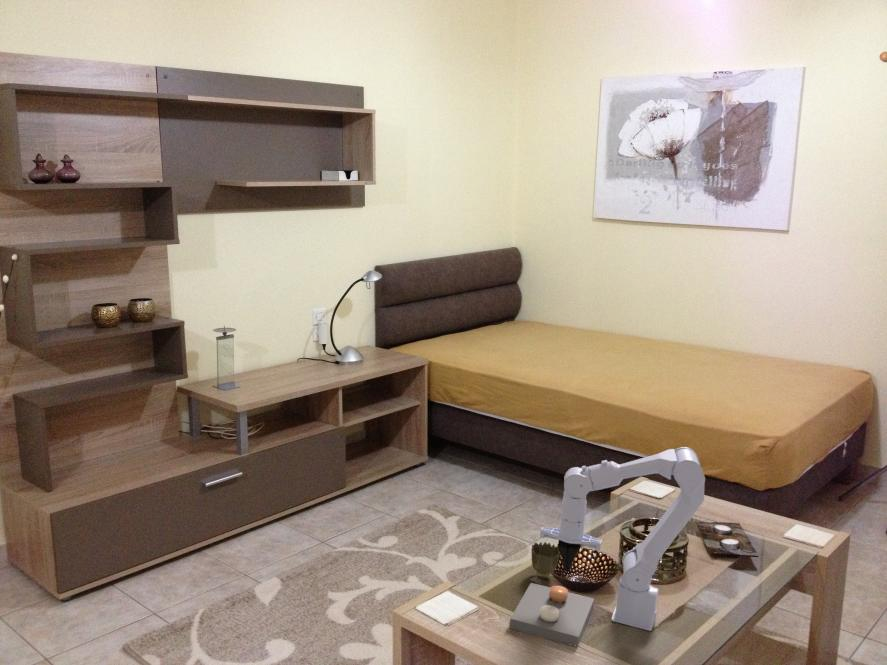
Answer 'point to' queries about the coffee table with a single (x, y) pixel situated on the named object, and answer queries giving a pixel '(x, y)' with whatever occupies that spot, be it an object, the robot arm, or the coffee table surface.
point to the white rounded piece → (549, 613)
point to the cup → (544, 559)
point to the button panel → (562, 630)
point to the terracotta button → (558, 594)
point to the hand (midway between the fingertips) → (567, 569)
